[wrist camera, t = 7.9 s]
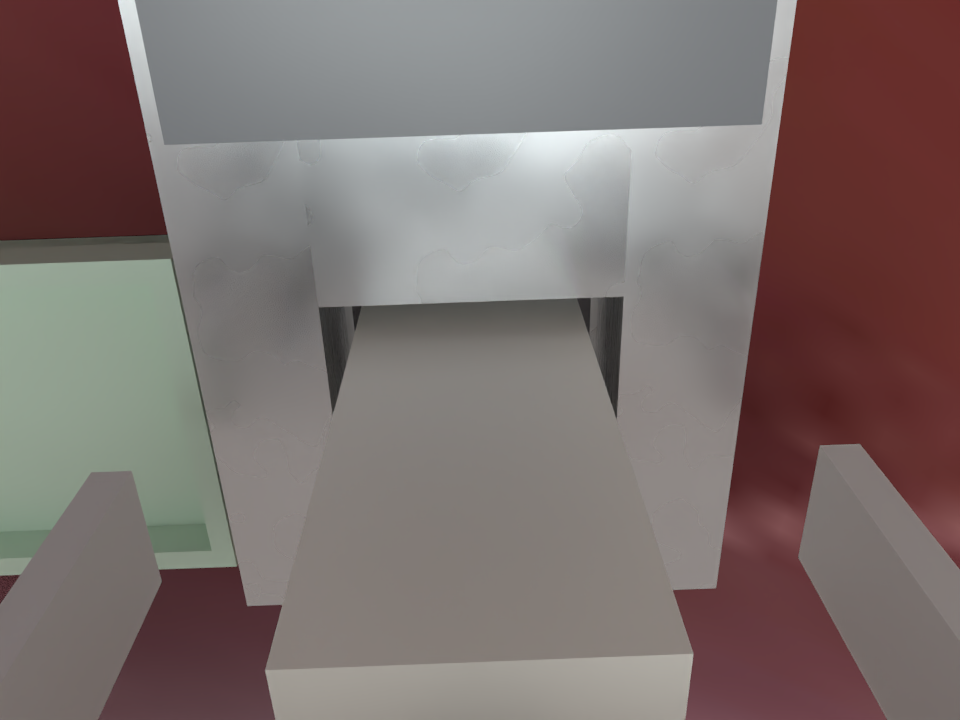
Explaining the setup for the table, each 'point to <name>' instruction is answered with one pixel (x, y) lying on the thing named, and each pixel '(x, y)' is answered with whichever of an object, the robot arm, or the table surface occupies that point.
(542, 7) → the twin plug
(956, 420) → the table surface
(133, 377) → the tray
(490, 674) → the plug
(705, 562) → the metal socket frame
